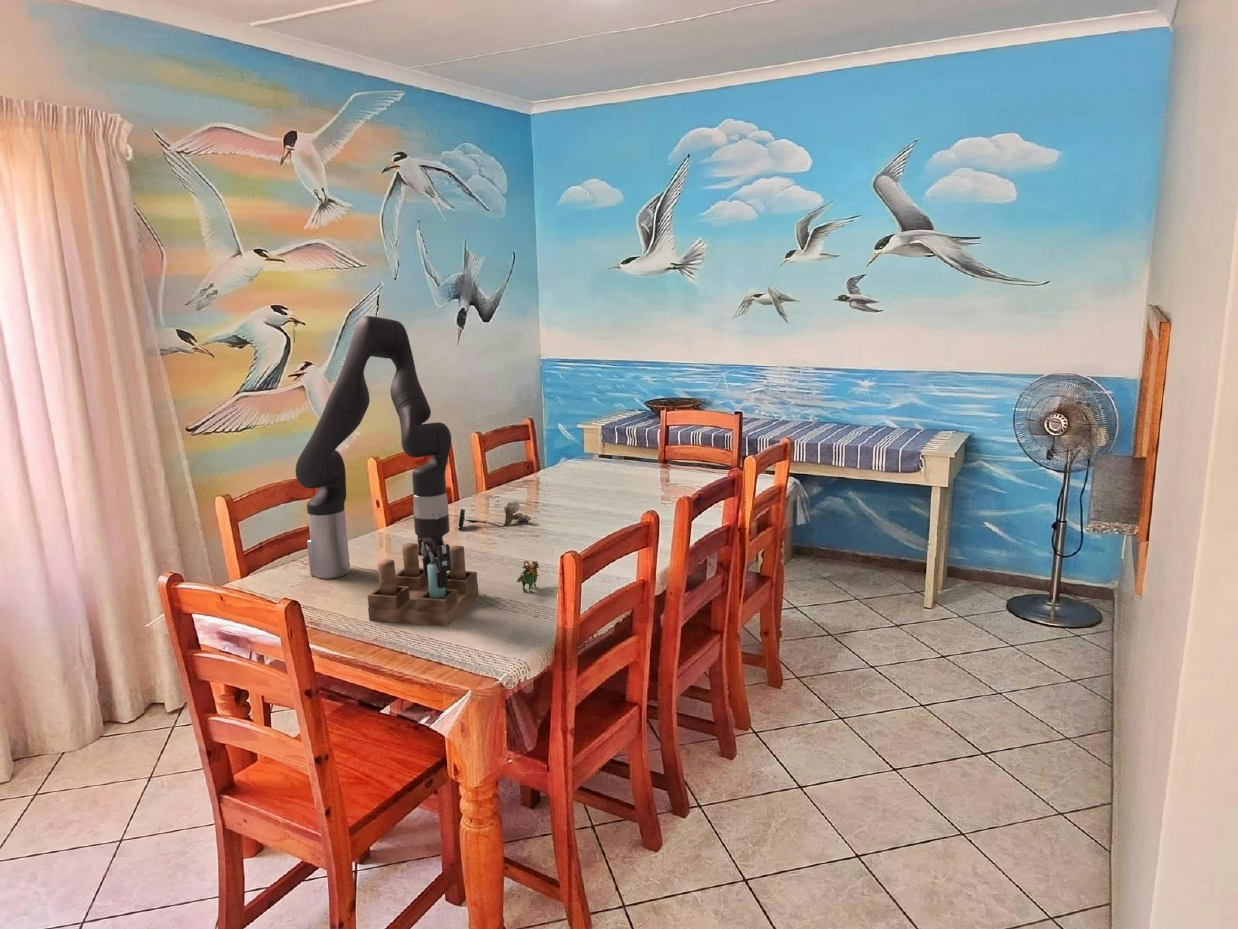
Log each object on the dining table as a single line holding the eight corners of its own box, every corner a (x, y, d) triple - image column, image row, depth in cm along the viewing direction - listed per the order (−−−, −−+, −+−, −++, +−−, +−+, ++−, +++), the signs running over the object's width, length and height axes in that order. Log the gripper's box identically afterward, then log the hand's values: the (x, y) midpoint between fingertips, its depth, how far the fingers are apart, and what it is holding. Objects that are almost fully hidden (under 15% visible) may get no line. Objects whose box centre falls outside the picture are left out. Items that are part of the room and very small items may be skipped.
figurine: (544, 584, 207) (543, 553, 205) (523, 601, 196) (521, 569, 194) (533, 582, 208) (532, 552, 206) (511, 600, 197) (510, 567, 195)
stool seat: (369, 620, 186) (364, 566, 183) (407, 590, 204) (403, 540, 201) (446, 626, 182) (443, 571, 179) (478, 594, 200) (475, 544, 198)
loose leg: (433, 611, 183) (430, 568, 181) (428, 606, 186) (424, 564, 184) (448, 607, 185) (445, 565, 183) (443, 602, 188) (440, 561, 186)
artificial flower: (457, 529, 259) (460, 497, 260) (529, 533, 262) (531, 502, 263) (456, 529, 250) (459, 497, 251) (530, 534, 254) (532, 502, 254)
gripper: (404, 508, 185) (409, 575, 188) (426, 523, 173) (430, 595, 177) (435, 503, 189) (440, 569, 192) (459, 517, 177) (463, 587, 180)
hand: (435, 581), depth 184 cm, fingers open, 8 cm apart
